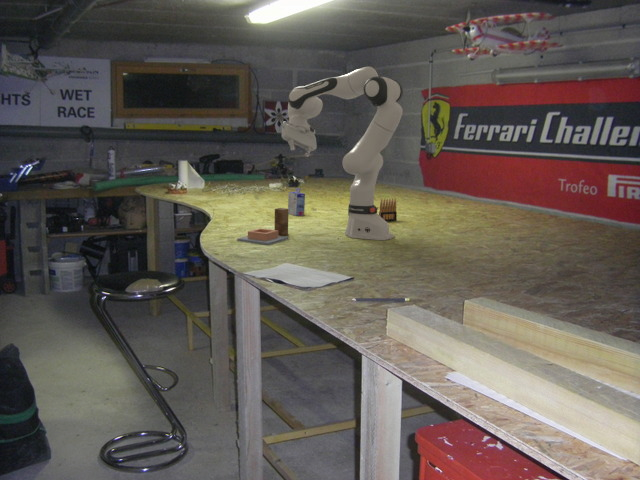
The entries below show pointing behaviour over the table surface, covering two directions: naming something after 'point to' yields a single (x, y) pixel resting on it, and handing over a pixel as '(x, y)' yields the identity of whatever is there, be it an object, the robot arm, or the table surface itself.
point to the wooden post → (281, 221)
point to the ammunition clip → (388, 210)
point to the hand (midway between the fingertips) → (300, 153)
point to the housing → (263, 237)
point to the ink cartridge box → (296, 203)
